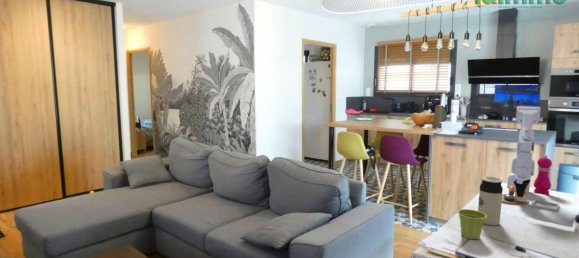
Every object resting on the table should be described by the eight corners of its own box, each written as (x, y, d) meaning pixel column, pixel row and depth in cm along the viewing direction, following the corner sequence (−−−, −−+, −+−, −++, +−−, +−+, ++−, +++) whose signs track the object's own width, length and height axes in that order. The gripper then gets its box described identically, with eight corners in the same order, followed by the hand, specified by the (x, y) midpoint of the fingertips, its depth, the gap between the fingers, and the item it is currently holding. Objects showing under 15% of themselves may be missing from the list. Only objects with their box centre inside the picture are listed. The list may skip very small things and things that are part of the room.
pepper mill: (529, 192, 185) (533, 154, 183) (538, 190, 188) (542, 152, 186) (544, 196, 179) (548, 156, 176) (553, 194, 182) (557, 155, 179)
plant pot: (460, 228, 140) (461, 207, 138) (487, 235, 134) (489, 213, 133) (453, 236, 132) (454, 214, 131) (481, 244, 127) (483, 220, 125)
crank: (507, 194, 176) (507, 185, 176) (516, 196, 174) (517, 187, 173) (503, 198, 169) (503, 189, 169) (512, 200, 167) (513, 191, 166)
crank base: (493, 194, 181) (493, 191, 181) (531, 202, 171) (531, 198, 170) (485, 203, 169) (485, 199, 169) (525, 211, 159) (526, 207, 158)
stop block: (516, 196, 169) (517, 184, 168) (526, 198, 167) (527, 185, 166) (514, 198, 166) (515, 186, 165) (524, 200, 164) (526, 187, 163)
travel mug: (496, 219, 149) (500, 177, 147) (502, 227, 141) (506, 182, 139) (475, 217, 151) (478, 175, 149) (479, 224, 144) (483, 180, 141)
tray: (533, 204, 167) (534, 199, 167) (558, 209, 161) (559, 203, 161) (530, 209, 160) (531, 204, 160) (556, 215, 154) (557, 209, 154)
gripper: (516, 162, 172) (513, 190, 174) (510, 168, 161) (507, 197, 163) (534, 164, 168) (531, 193, 170) (528, 170, 157) (526, 201, 159)
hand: (520, 195), depth 166 cm, fingers closed on stop block, 4 cm apart
